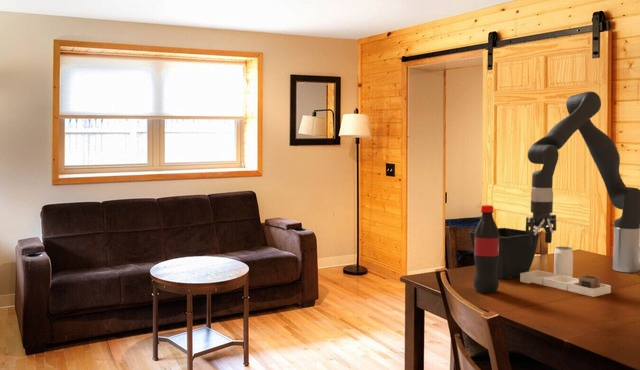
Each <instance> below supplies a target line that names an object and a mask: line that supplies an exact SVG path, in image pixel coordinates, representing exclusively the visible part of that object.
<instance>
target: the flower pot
mask: <svg viewBox="0 0 640 370" xmlns="http://www.w3.org/2000/svg"><path fill="white" fill-rule="evenodd" d="M497 228H498V231H499V234H500V236H499V262H498V267H497V276H498V279H502V280H508V279H512V278H520V273H523V272H529V271H531V270H530V269H531V266H532V263H533V261H534V258H535V255H536V252H537V247H538V243H539V237H540V232H537V234H536V235H537V237H536V245H535V246H533V245H530V234H528V233H526V232H525V231H526V230H525V229H523V230H522V229H516V228H515V229H514V228H508V227H497ZM474 233H475V230H473V231H471V230H470V231H469V238H470V242H471V248H472V251H473V253H474V249H475V236H474Z"/></svg>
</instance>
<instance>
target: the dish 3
mask: <svg viewBox="0 0 640 370" xmlns="http://www.w3.org/2000/svg"><path fill="white" fill-rule="evenodd" d="M611 288H612V286H611V285H609V284H605V283H601V282H600V287H598V288H594V289H592V288H588V287H583V286H579V282H574V283H569V284H568V290H567V291H568V292H571V293H576V294H580V295H584V296H587V297H599V296H603V295H607V294H611V293H612V289H611Z"/></svg>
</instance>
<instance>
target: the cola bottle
mask: <svg viewBox="0 0 640 370" xmlns="http://www.w3.org/2000/svg"><path fill="white" fill-rule="evenodd" d="M480 213H481V217H480V220H479V221H478V223H477V225H476V228H475V230H474V231H475V233H474V236H475V249H474V252H473V259H474V266H475V275H474V277H473V287H474V290H475V291H477V292H478V293H483V294H493V293H496V292H497V291H498V288H499V285H500V280H499V278H498V276H497V267H498V262H499V236H500V234H499V231H498V228H499V227H498V226H497V223H496V222H495V221H496V220H495V219H494V217H493V214H494V205H492V204H491V205H490V204H485V205H481V208H480Z"/></svg>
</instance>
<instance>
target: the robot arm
mask: <svg viewBox="0 0 640 370" xmlns="http://www.w3.org/2000/svg"><path fill="white" fill-rule="evenodd" d="M601 106H602V99H601V97H600V96H599V94H598V93H597V92H595V91H585V92H582V93H577V94H574V95H570V96H569V97H568V98H567V99H566V110H567V113H568V115H567V116H566V117H564V118H562V119H561V120H560V121H559V122H557V123H556V124H555V125H554V126H553V127H552V128H551V129H550V130H549V131H548V133H547V134H546V135H544V137H541V138H540V139H538V140H537V141H535V142H534V143H533V144H532V145H530V147H529V149H528V151H527V160H528V161H529V162H530V163H532V164H534V165H543V166H542V168H541V169H540V170H536V171H533V172H532V177H531V190H530V212H531V213H532V216H527V217H526V218H525V230H524V231H525V232H526V233H528V234H530V245H533V246H535V245H536V237H537V235H536V234H537V233H539V231H540V230H541V229H544V231H545V232H544V242H545V243H546V244H551V243H552V240H553V237H552V236H553V234H552V233H554V232H556V230H557V215H556V214H552V213H553V211H554V210H553V205H554V191H553V190H554V189H553V186H554V185H553V181H554V180H553V179H554V174H555V171H556V167H557V164H558V161H559V155H560V153H559V150H560V149H561V148H563V147H564V145H565V144H566V143H567V142H568V140H569V139H571V137H572V136H573V135H574V134H575V132H577V131H579V133H580V135H581V137H582V139H583V141H584V142H585V145H586V147H587V149H588V152H589V154H590V156H591V158H592V160H593V162H594V163H595V165H596V168H597V169H598V172H599V174H600V176H601V179H602V181H603V183H604V185H605V189H606V191H607V195H608V198H609V200H610V202H611V204H612V206H614V207H615V208H616V209H618V210H622V212H621V216H620V217H619V218H616V219H615V220H614V223H613V249H612V270H613V271H616V272H621V273H638V272H639V271H640V189H639V188H637V187H633V186H632V187H631V186H626V184H625V183H624V181H623V178H622V177H621V174H620V164H621V156H620V153H619V151H618V148H617V147H616V145H615V142H614V140H612V138H611V137H610V136H609V135H607V134H606V133H604V132H603V131H602V130H601V129H599V127H597V126H596V125H595V124H594V123H593V122H592V120H591V118H593V117H594V116H595V115H597V113H599V112H600V110H601Z"/></svg>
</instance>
